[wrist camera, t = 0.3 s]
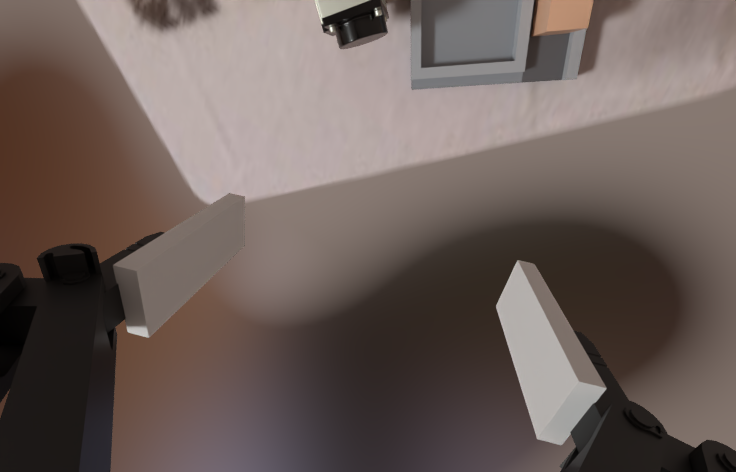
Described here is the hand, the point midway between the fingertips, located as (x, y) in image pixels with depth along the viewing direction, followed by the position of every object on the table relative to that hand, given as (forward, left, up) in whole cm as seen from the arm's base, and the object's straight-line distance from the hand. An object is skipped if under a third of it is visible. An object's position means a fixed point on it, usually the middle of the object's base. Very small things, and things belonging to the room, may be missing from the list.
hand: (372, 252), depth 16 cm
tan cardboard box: (-13, +14, -25) cm, 32 cm away
